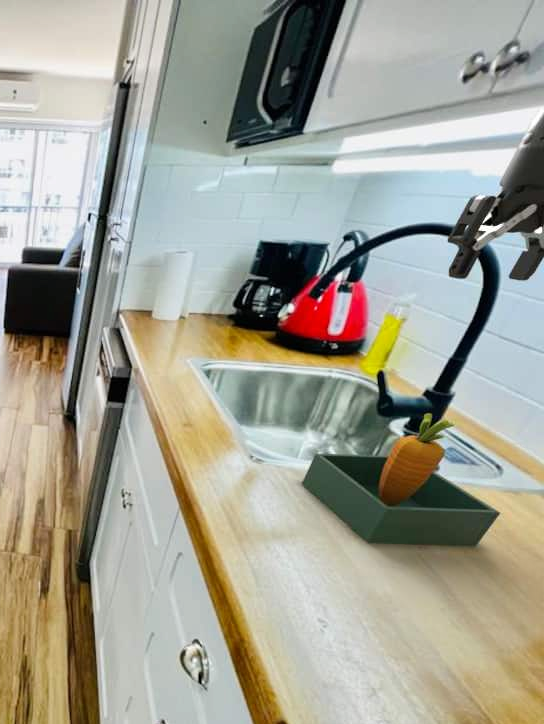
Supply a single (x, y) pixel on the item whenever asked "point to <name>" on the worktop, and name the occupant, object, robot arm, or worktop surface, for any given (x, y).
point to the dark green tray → (404, 521)
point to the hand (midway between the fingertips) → (486, 278)
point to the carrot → (411, 462)
